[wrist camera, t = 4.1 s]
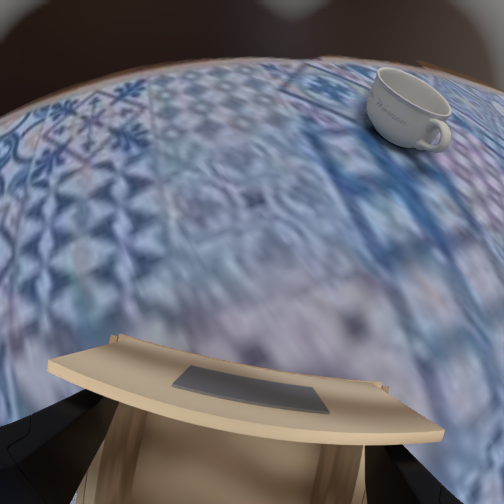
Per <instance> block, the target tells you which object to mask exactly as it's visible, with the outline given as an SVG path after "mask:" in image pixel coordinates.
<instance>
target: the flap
mask: <svg viewBox="0 0 504 504" xmlns="http://www.w3.org/2000/svg"><path fill="white" fill-rule="evenodd" d="M48 372H50V373H52V374H54V375H56V376H58V377H60V378H62V379H65V380H67V381H69V382H71V383H74V384H76V385H78V386H80V387H83V388H85V389H88V390H90V391H93V392H95V393H98V394H100V395H103V396H105V397H108V398H111V399H113V400H116V401H119V402H122V403H125V404H127V405H130V406H133V407H136V408H139V409H142V410H146V411H149V412H152V413H155V414H159V415H162V416H166V417H169V418H173V419H176V420H180V421H184V422H188V423H192V424H196V425H200V426H205V427H209V428H214V429H218V430H223V431H228V432H233V433H239V434H245V435H251V436H257V437H263V438H271V439H278V440H287V441H296V442H306V443H319V444H337V445H399V444H416V443H428V442H438V441H442V438H443V435H444V432H445V430H444V429H443V428H441V427H439V426H438V425H436V424H435V423H433V422H431V421H430V420H428V419H427V418H425V417H423V416H422V415H420V414H419V413H417V412H416V411H414V410H412V409H411V408H409V407H408V406H406V405H405V404H403V403H402V402H400V401H398V400H397V399H395V398H394V397H392V396H391V395H389V394H388V393H386V392H385V391H383V390H382V389H380V388H379V387H377V386H376V385H374V384H373V383H368V382H356V381H345V380H336V379H327V378H318V377H311V376H303V375H296V374H289V373H283V372H277V371H270V370H265V369H259V368H253V367H248V366H243V365H238V364H233V363H228V362H223V361H218V360H214V359H209V358H205V357H200V356H196V355H192V354H188V353H184V352H180V351H176V350H172V349H168V348H164V347H160V346H157V345H153V344H149V343H146V342H142V341H139V340H135V339H132V338H129V339H125V340H122V341H118V342H114V343H111V344H107V345H103V346H100V347H96V348H92V349H89V350H85V351H81V352H77V353H73V354H69V355H65V356H61V357H57V358H53V359H49V360H48Z"/></svg>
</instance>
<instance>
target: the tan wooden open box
mask: <svg viewBox="0 0 504 504" xmlns="http://www.w3.org/2000/svg"><path fill="white" fill-rule="evenodd" d="M129 338H132V339H135V340H139V341H142V342H146V343H149V344H153V345H157V346H160V347H164V348H168V349H172V350H176V351H180V352H184V353H188V354H192V355H196V356H200V357H205V358H209V359H214V360H218V361H223V362H228V363H233V364H238V365H243V366H248V367H253V368H259V369H265V370H270V371H277V372H283V373H289V374H296V375H303V376H311V377H318V378H327V379H336V380H345V381H356V382H368V383H373V384H374V385H376V386H377V387H379V388H380V389H382V390H383V391H385V392H386V393H388V391H389V386H382V382H370V381H358V380H348V379H338V378H329V377H320V376H313V375H305V374H298V373H291V372H285V371H278V370H272V369H266V368H261V367H255V366H250V365H244V364H239V363H234V362H229V361H224V360H220V359H215V358H210V357H206V356H202V355H197V354H193V353H189V352H185V351H181V350H177V349H173V348H169V347H165V346H161V345H158V344H154V343H150V342H147V341H143V340H140V339H136V338H133V337H130V336H126V335H123V334H119V337H117V336H114V335H111V337H110V341H109V344H111V343H114V342H118V341H122V340H125V339H129ZM76 504H367V497H366V488H365V445H337V444H319V443H306V442H296V441H287V440H278V439H271V438H263V437H257V436H251V435H245V434H239V433H233V432H228V431H223V430H218V429H214V428H209V427H205V426H200V425H196V424H192V423H188V422H184V421H180V420H176V419H173V418H169V417H166V416H162V415H159V414H155V413H152V412H149V411H146V410H142V409H139V408H136V407H133V406H130V405H127V404H125V403H122V402H119V405H118V407H117V410H116V412H115V415H114V417H113V420H112V422H111V425H110V427H109V430H108V432H107V435H106V437H105V439H104V441H103V443H102V444H101V446H100V448H99V450H98V452H97V454H96V455H95V457H94V459H93V461H92V463H91V465H90V466H89V468H88V470H87V472H86V474H85V476H84V478H83V480H82V481H81V483H80V485H79V487H78V490H77V499H76Z"/></svg>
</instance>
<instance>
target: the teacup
mask: <svg viewBox="0 0 504 504" xmlns="http://www.w3.org/2000/svg"><path fill="white" fill-rule="evenodd" d="M451 113H452V111H451V107H450V105H449V104H448V102H447V101H446V100H445V98H444V97H443V96H442V95H441V94H440V93H439V92H437V91H436V90H435V89H434V88H432V87H431V86H430V85H428V84H427V83H425V82H424V81H422V80H420V79H419V78H417V77H415V76H413V75H411V74H408V73H406V72H403V71H401V70H398V69H394V68H389V67H383V68H380V69H378V71H377V76H376V78H375V81H374V83H373V86H372V88H371V91H370V94H369V97H368V100H367V114H368V116H369V118H370V120H371V122H372V123H373V125H374V127H375V129H376V130H377V131H378V133H379V134H380V135H381V136H383V137H384V138H385V139H386V140H388V141H389V142H391V143H393V144H395V145H398V146H400V147H405V148H416V149H418V150H424V149H425V150H427V151H430V152H434V153H439V152H443V151H445V150H446V149H447V148H448V146H449V144H450V142H451V132H450V129H449V127H448V126H447V125H446V124H445V122H446V120H447V118H448V117H450V116H451ZM439 131H440V134H441V136H440V141H439V143H438V144H437V145H431V144H430V143H431V142H432V141H433V140H434V138H435V137H436V136H437V134H438V133H439Z"/></svg>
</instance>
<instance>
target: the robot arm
mask: <svg viewBox="0 0 504 504" xmlns="http://www.w3.org/2000/svg"><path fill="white" fill-rule="evenodd" d="M118 405H119V401H116V400H113V399H111V398H108V397H105V396H103V395H100V394H98V393H95V392H93V391H90V390H88V389H84V390H82V391H80V392H78V393H76V394H74V395H72V396H70V397H68V398H66V399H63V400H61V401H59V402H57V403H55V404H53V405H51V406H49V407H46V408H44V409H42V410H40V411H38V412H36V413H34V414H32V416H31V415H29V416H27V417H25V418H22V419H20V420H17V421H15V422H13V423H10V424H7V425H4V426H1V427H0V504H70V503H71V501H72V499H73V497H74V495H75V493H76V491H77V489H78V487H79V485H80V483H81V481H82V480H83V478H84V476H85V474H86V472H87V470H88V468H89V466H90V465H91V463H92V461H93V459H94V457H95V455H96V454H97V452H98V450H99V448H100V446H101V444H102V443H103V441H104V439H105V437H106V435H107V432H108V430H109V427H110V425H111V422H112V420H113V417H114V415H115V412H116V410H117V407H118ZM365 488H366V497H367V504H463V503H462V502H461V501H460V500H458V499H457V498H456V497H455V496H454V495H453V494H452V493H451V492H449V491H448V490H447V489H446V488H445V487H444V486H443V485H442V484H441V483H440V482H439V481H438V480H437V479H436V478H435V477H434V476H433V475H432V474H431V473H430V472H429V471H428V470H427V469H426V468H425V467H424V466H423V465H422V464H421V463H420V462H419V461H418V460H417V459H416V458H415V457H414V456H413V455H412V454H411V453H410V452H409V451H408V450H407V449H406V448H405V447H404V446H403V445H402V444H399V445H365Z"/></svg>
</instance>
